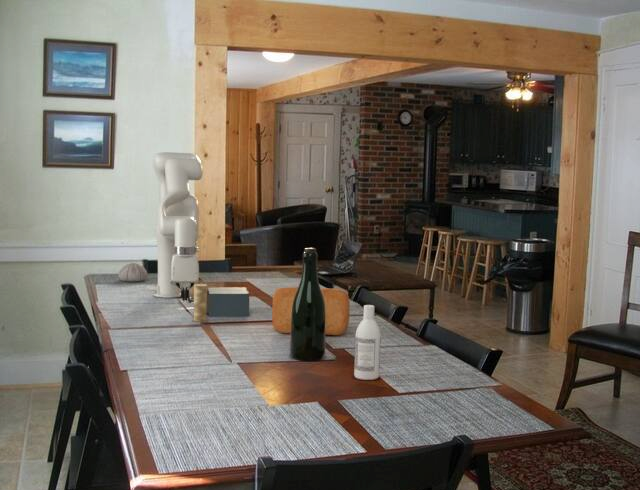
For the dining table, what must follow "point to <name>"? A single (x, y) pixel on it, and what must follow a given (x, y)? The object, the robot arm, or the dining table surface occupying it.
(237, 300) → the cabinet
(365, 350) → the bath foam
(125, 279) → the sea urchin shell
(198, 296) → the cylinder
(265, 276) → the dining table surface
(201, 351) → the dining table surface
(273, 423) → the dining table surface
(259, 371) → the dining table surface
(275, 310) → the bread
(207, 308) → the drawer
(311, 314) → the green wine bottle
